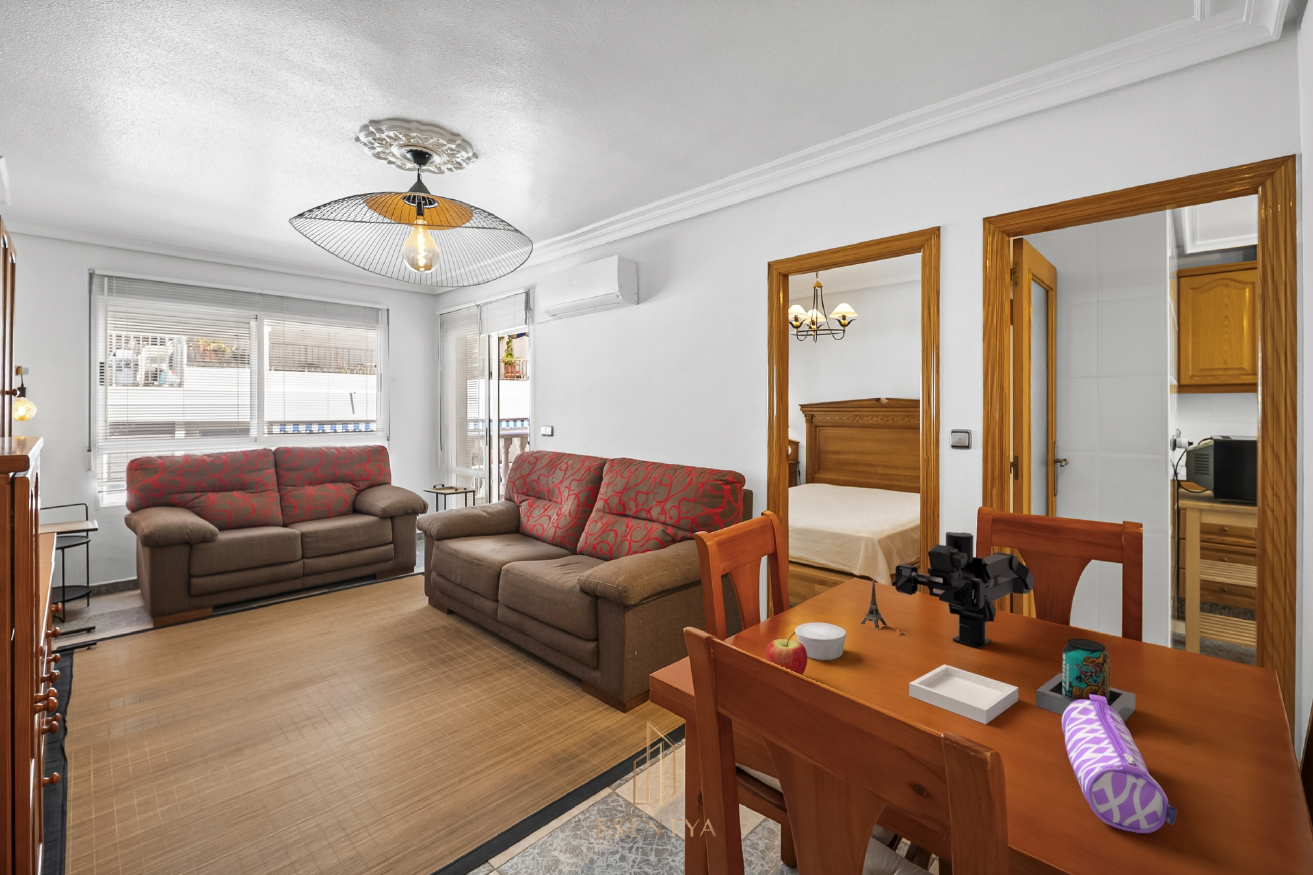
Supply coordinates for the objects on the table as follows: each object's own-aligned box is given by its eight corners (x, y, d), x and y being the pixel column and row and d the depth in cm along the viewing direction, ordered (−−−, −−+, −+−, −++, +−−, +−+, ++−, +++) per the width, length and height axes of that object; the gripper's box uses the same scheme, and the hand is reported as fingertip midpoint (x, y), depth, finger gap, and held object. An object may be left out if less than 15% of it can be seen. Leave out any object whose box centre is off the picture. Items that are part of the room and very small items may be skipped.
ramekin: (791, 658, 135) (791, 635, 135) (799, 641, 145) (799, 619, 145) (844, 665, 131) (844, 641, 131) (848, 647, 141) (848, 625, 141)
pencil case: (1177, 850, 75) (1179, 775, 74) (1087, 830, 78) (1088, 758, 78) (1122, 757, 95) (1123, 698, 95) (1053, 745, 99) (1054, 688, 98)
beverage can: (1103, 722, 106) (1104, 654, 106) (1057, 707, 111) (1057, 643, 111) (1113, 709, 111) (1114, 644, 110) (1068, 696, 116) (1069, 634, 115)
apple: (800, 691, 119) (800, 640, 118) (759, 681, 123) (759, 633, 123) (813, 676, 126) (813, 628, 125) (774, 667, 130) (774, 621, 130)
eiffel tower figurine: (906, 638, 148) (906, 584, 148) (864, 637, 149) (864, 583, 148) (886, 618, 163) (886, 568, 163) (848, 617, 164) (848, 568, 163)
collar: (1059, 687, 119) (1059, 672, 119) (1135, 710, 110) (1135, 694, 110) (1035, 706, 112) (1036, 690, 112) (1115, 732, 102) (1115, 714, 102)
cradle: (944, 676, 125) (944, 664, 125) (1018, 700, 114) (1018, 687, 114) (909, 695, 116) (909, 683, 116) (985, 724, 105) (985, 710, 105)
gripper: (913, 538, 144) (878, 547, 135) (997, 551, 130) (963, 562, 120) (913, 584, 145) (877, 597, 135) (996, 602, 130) (963, 618, 120)
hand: (918, 592), depth 128 cm, fingers open, 9 cm apart
